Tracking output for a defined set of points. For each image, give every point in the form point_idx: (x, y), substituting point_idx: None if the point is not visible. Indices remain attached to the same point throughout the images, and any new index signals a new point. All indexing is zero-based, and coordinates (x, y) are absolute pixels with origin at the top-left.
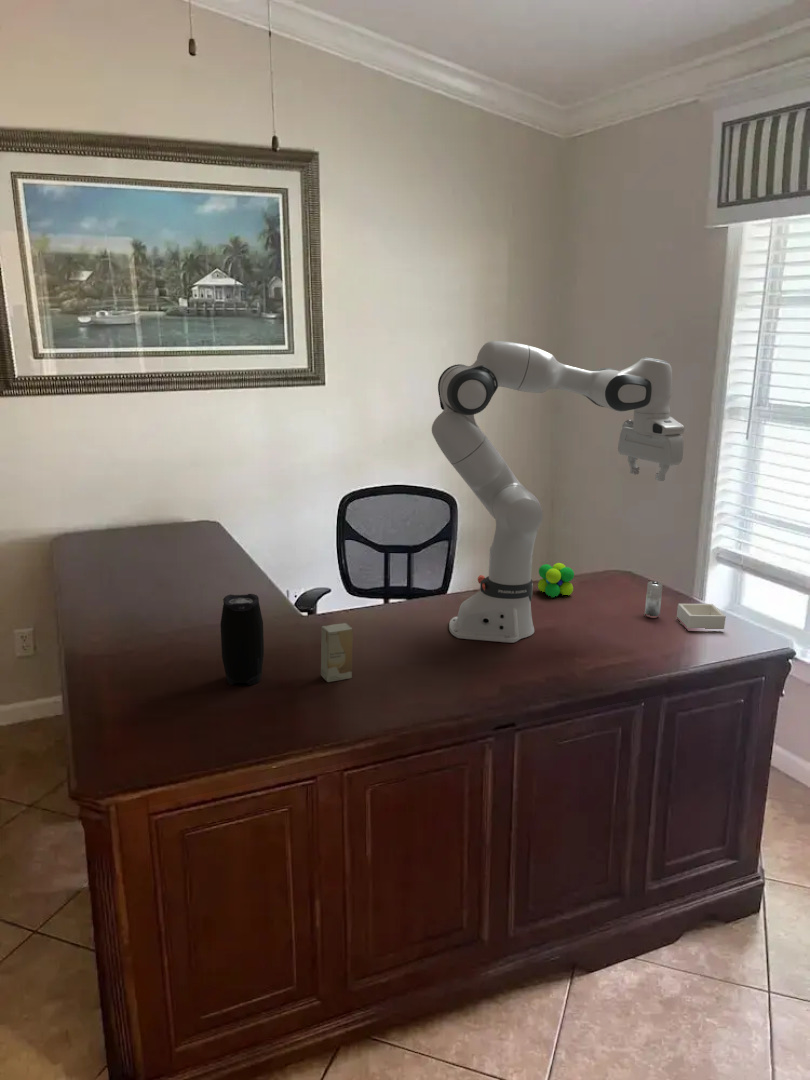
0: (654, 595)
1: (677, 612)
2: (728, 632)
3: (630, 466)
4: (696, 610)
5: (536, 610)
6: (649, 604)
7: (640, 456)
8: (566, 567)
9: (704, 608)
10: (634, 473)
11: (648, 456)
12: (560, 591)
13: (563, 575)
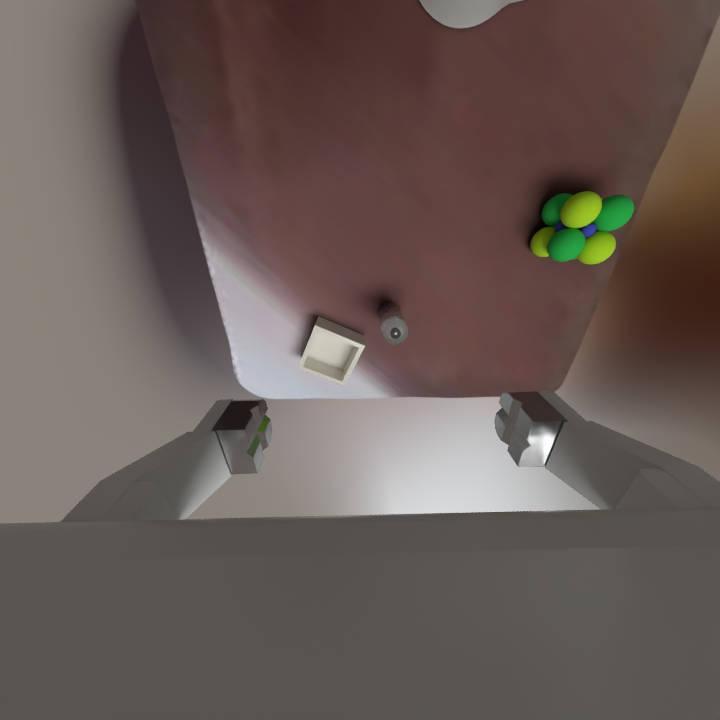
0: (384, 318)
1: (363, 339)
2: (299, 361)
3: (591, 424)
4: (350, 361)
5: (518, 120)
6: (388, 309)
7: (479, 545)
8: (576, 245)
9: (345, 371)
10: (506, 397)
11: (268, 588)
12: (546, 227)
13: (563, 230)
